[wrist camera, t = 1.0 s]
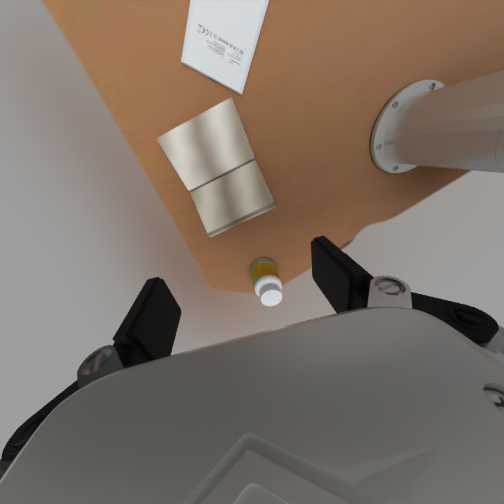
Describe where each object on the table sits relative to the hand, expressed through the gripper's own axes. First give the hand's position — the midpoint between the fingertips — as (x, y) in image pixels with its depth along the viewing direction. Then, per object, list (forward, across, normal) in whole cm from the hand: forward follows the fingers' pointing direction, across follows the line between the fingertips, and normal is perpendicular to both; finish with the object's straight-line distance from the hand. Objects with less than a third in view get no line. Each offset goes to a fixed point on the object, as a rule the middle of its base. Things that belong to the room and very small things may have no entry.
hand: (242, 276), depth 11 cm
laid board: (+24, +1, -8) cm, 25 cm away
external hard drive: (+25, -5, -20) cm, 32 cm away
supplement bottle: (+24, -3, +17) cm, 30 cm away
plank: (+22, 0, +1) cm, 22 cm away
